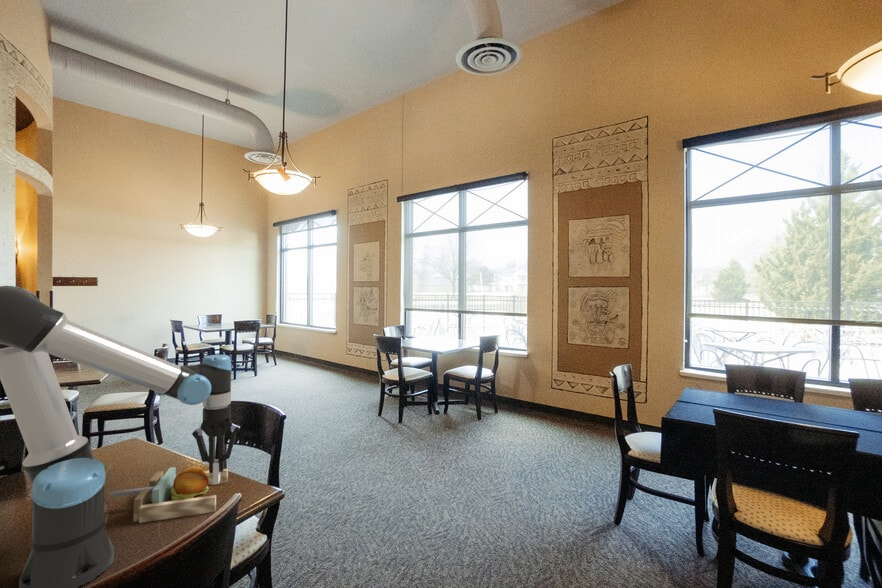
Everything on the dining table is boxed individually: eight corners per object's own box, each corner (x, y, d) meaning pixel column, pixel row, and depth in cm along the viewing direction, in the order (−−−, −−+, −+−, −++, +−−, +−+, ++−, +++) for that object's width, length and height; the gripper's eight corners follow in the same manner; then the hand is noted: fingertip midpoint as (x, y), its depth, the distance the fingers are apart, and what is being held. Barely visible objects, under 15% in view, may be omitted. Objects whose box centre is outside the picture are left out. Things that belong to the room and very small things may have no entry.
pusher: (175, 489, 122) (175, 467, 122) (158, 514, 108) (159, 489, 108) (122, 496, 118) (122, 473, 118) (98, 523, 104) (98, 497, 104)
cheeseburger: (202, 484, 126) (205, 456, 124) (213, 504, 119) (217, 475, 117) (164, 496, 118) (168, 466, 117) (174, 518, 111) (177, 487, 110)
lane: (227, 480, 129) (228, 462, 129) (214, 511, 111) (215, 490, 111) (157, 489, 123) (158, 470, 123) (132, 524, 104) (132, 501, 104)
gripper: (242, 400, 125) (241, 473, 125) (195, 404, 121) (195, 479, 121) (238, 407, 118) (238, 484, 118) (189, 411, 114) (188, 491, 114)
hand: (216, 482), depth 119 cm, fingers closed
